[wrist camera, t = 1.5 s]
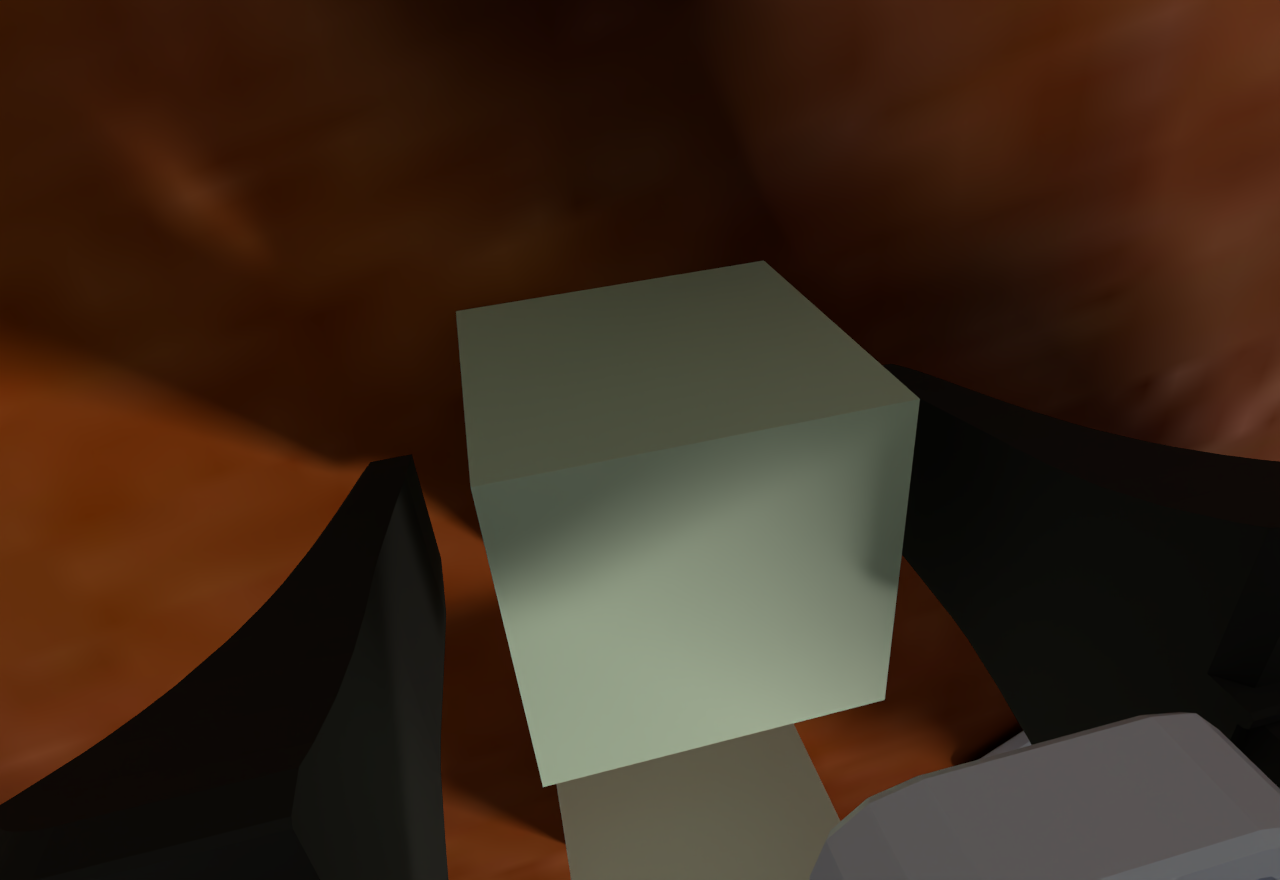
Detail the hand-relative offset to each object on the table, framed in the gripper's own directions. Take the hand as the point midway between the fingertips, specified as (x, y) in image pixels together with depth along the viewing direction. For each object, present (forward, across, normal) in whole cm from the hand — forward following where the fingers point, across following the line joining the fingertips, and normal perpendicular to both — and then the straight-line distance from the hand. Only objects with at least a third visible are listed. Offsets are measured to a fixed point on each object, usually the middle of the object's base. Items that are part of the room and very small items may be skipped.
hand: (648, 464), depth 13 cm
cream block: (+2, 0, +9) cm, 10 cm away
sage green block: (+2, 0, 0) cm, 2 cm away
